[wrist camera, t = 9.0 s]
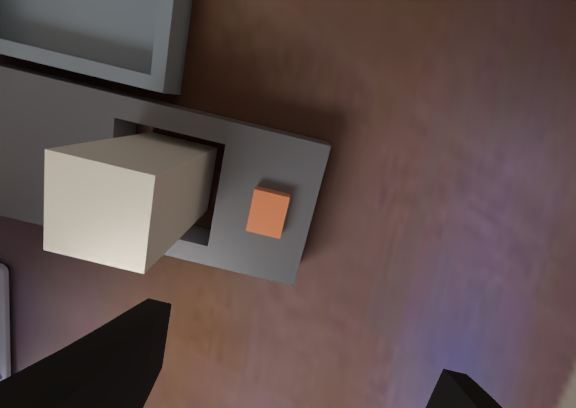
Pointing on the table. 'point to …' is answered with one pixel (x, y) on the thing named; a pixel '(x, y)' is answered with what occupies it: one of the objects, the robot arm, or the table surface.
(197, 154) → the plug
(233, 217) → the power strip
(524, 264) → the table surface
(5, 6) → the tray
